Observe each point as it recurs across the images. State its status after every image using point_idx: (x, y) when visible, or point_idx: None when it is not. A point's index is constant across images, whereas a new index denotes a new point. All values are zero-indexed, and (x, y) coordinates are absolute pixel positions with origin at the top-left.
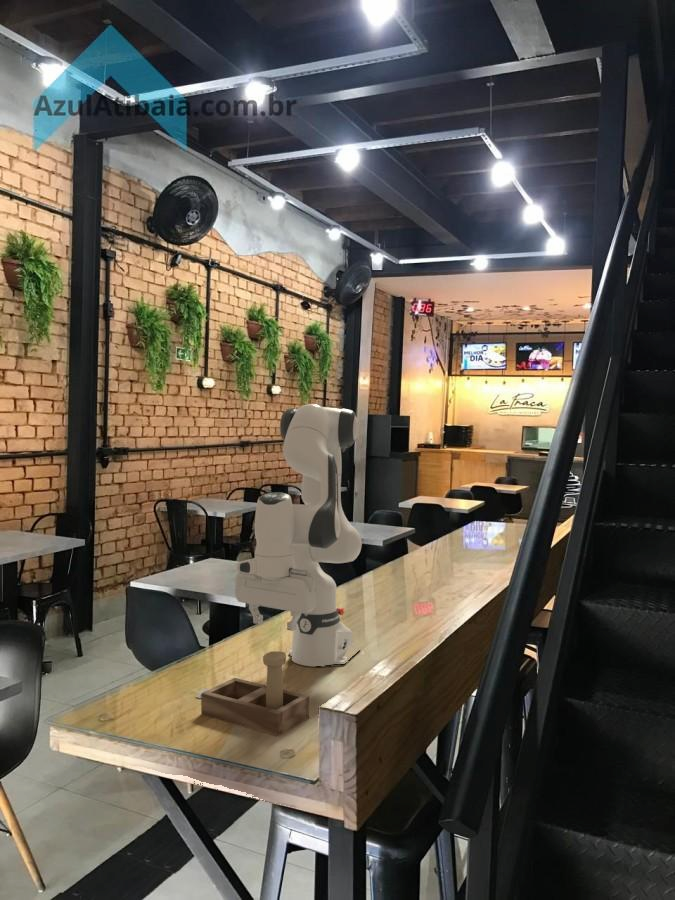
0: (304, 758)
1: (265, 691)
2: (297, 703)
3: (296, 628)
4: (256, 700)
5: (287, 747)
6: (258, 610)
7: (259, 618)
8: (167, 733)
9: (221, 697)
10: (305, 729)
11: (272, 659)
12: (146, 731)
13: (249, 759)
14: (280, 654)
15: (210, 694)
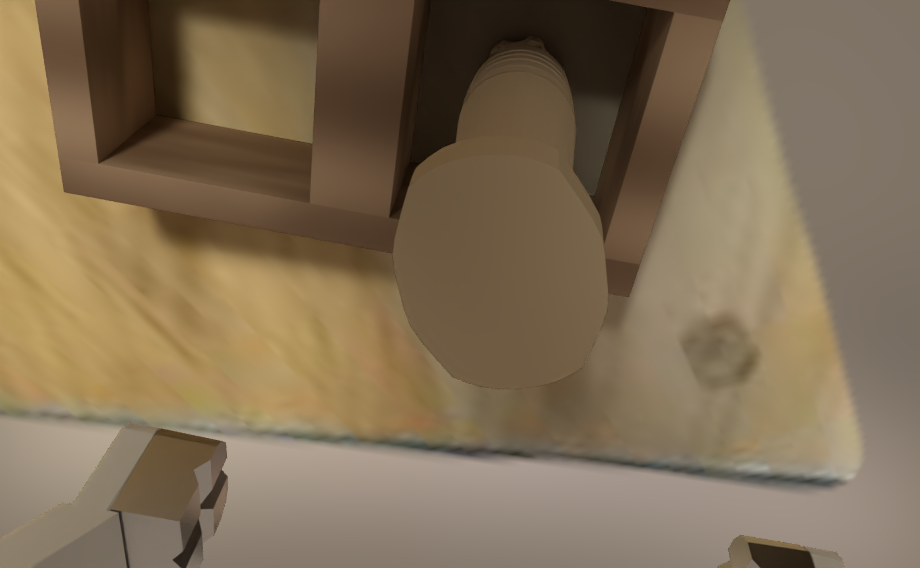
0: (806, 367)
1: (391, 15)
2: (688, 119)
3: (837, 557)
4: (400, 134)
5: (701, 308)
6: (47, 562)
7: (196, 553)
8: (158, 347)
9: (208, 206)
10: (733, 108)
11: (527, 365)
12: (76, 356)
13: (585, 426)
14: (536, 231)
15: (122, 191)
